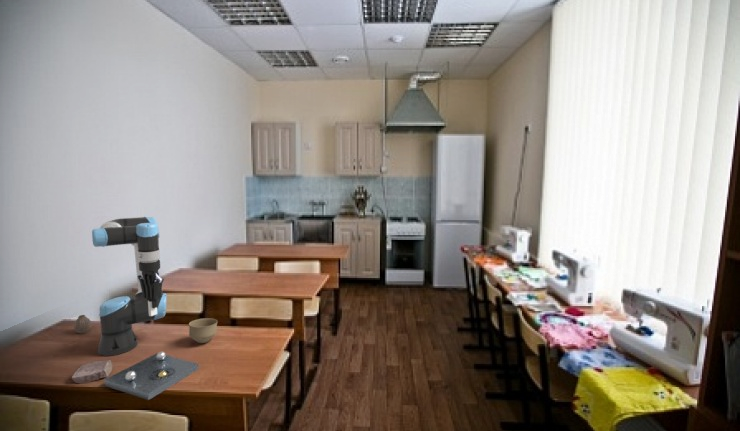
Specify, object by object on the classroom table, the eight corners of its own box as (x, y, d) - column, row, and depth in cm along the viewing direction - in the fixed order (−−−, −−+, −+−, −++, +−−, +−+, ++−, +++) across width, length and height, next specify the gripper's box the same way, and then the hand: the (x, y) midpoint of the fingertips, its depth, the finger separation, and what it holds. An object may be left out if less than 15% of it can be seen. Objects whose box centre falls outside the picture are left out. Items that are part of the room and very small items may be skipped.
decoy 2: (123, 381, 134) (122, 373, 133) (132, 376, 137) (131, 368, 137) (129, 383, 133) (129, 374, 132) (138, 378, 136) (138, 370, 135)
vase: (71, 334, 180) (69, 317, 179) (84, 328, 187) (82, 312, 186) (82, 335, 179) (80, 318, 178) (95, 329, 185) (93, 313, 185)
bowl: (223, 339, 174) (222, 319, 173) (199, 349, 163) (198, 329, 162) (208, 333, 181) (207, 314, 180) (184, 343, 170) (183, 323, 169)
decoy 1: (154, 361, 149) (154, 353, 148) (162, 357, 152) (161, 349, 152) (160, 362, 147) (160, 354, 147) (168, 358, 151) (167, 350, 150)
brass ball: (154, 379, 138) (157, 371, 138) (161, 376, 141) (164, 368, 141) (160, 383, 137) (163, 375, 137) (168, 380, 140) (171, 372, 140)
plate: (104, 385, 135) (104, 379, 135) (157, 358, 156) (157, 353, 156) (148, 400, 127) (148, 393, 126) (198, 369, 147) (198, 363, 147)
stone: (79, 374, 144) (78, 363, 143) (114, 369, 148) (113, 358, 148) (69, 386, 135) (68, 374, 135) (106, 380, 140) (106, 369, 139)
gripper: (129, 260, 145) (134, 315, 148) (151, 264, 140) (155, 321, 143) (147, 256, 152) (151, 309, 155) (168, 260, 147) (172, 314, 150)
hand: (153, 314), depth 149 cm, fingers closed
